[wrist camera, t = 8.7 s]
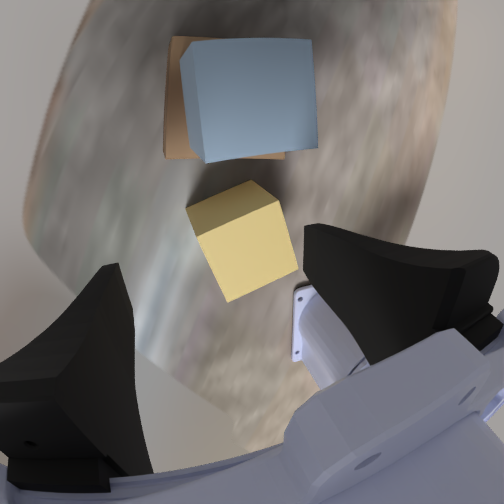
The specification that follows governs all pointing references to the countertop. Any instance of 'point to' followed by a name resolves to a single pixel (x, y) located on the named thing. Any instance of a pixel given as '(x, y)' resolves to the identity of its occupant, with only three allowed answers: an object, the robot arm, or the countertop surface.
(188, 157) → the walnut block
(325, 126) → the countertop surface
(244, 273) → the mustard cube
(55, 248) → the countertop surface
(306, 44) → the blue cube
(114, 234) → the countertop surface
